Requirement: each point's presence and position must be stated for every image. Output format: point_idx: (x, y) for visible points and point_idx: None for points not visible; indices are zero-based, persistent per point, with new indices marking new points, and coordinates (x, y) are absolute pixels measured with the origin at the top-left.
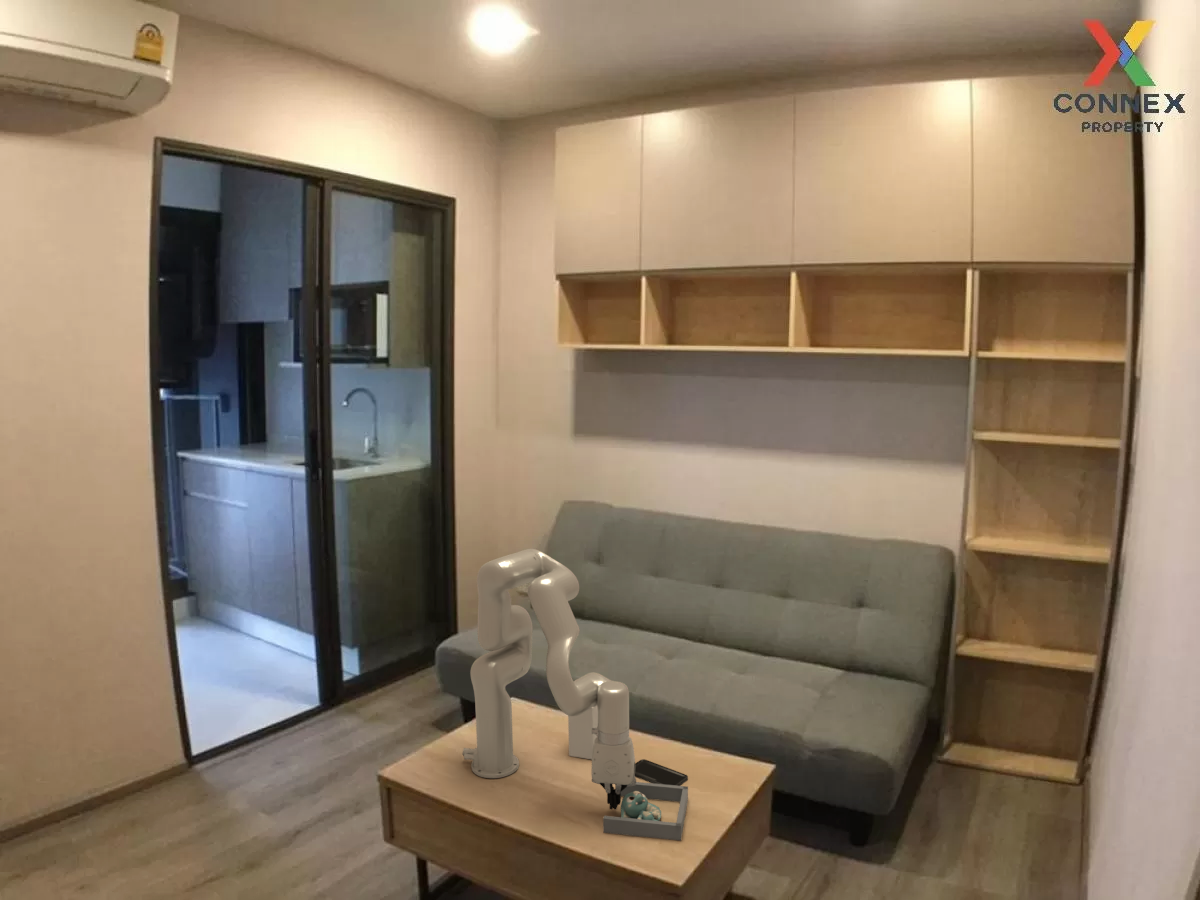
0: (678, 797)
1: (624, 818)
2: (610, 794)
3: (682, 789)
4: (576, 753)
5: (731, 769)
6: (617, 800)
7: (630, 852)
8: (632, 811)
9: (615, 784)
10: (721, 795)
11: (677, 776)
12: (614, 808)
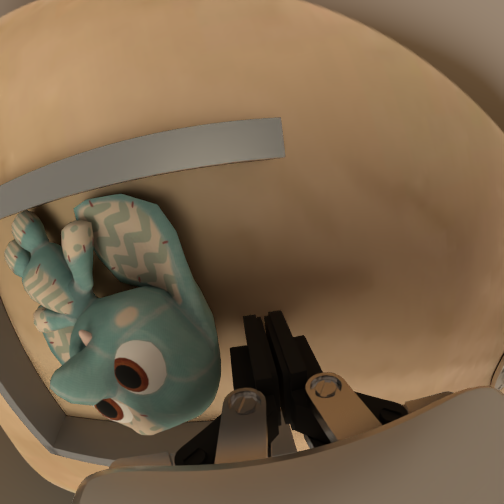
0: (71, 427)
1: (118, 169)
2: (299, 370)
3: (54, 445)
4: None
5: (77, 485)
6: (244, 360)
7: (90, 40)
8: (119, 295)
9: (294, 445)
10: (27, 431)
11: None
12: (253, 316)
